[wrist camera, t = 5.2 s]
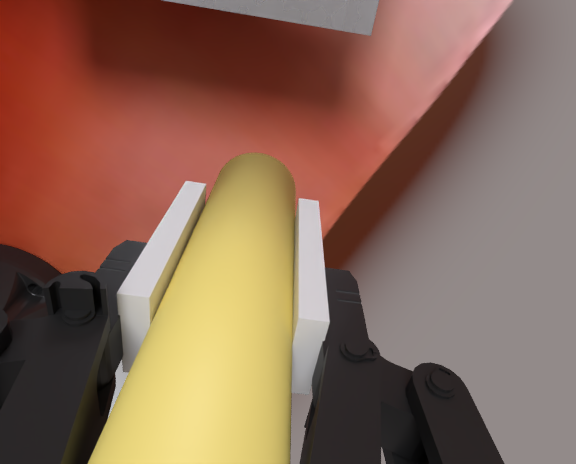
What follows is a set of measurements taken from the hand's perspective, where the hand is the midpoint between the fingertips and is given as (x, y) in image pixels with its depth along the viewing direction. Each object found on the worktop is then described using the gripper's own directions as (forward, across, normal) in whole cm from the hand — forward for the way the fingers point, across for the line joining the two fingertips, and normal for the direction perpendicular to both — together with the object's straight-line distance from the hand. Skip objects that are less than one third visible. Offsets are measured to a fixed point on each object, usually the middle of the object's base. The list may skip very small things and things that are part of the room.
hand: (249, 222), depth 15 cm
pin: (+3, 0, 0) cm, 3 cm away
